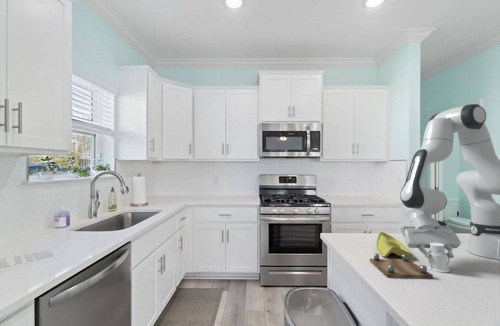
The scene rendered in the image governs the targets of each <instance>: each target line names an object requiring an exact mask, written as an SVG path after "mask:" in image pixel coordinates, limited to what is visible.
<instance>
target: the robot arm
mask: <svg viewBox="0 0 500 326" xmlns="http://www.w3.org/2000/svg"><path fill="white" fill-rule="evenodd" d="M486 120H487V112H486V110H485V109H484V107H482V106H481V105H480V104H478V103H473V104H471V103H468V104H465V105H462V106H461V105H460V106H457V107H452V108H449V109H447V110H444V111H441V112H436V113H434V115H433V114H432V115H431V116H430V117H429V119H428V122H427V124H426V127H425V129H424V134H423V139H422V144H421V147H420V148H419V149H418V150H417V151H415V153H414V154H413V157H412V159H411V161H410V166H409V169H408V172H407V175H406V179H405V182H404V184H403V186H402V188H401V190H400V193H399V197H400V201H401V205H402V208H403V209H402V210H403V212H404V213H405V216H406V217H407V219H409V224H410V226H403V227H401V228H400V231H401V234H402V235H403V239H404V244H406V246H407V247H408V248H409V249H418V250H419V251H420V252H421V253H422V254H423V255H424V257H425V258H427V259H428V258H431V257H432V255H431V253H430V252H429V251H428V250H427V249H430V243H442V244H444V248H445V251H447V252H446V253H447V259H448V258H449V259H453V258H454V257H455V255H454V253H453V250H454V249H458V247H460V245H461V243H462V242H461V240H460V238H459V237H458V235H457V233H456V232H455V231H454V230H453V229H452V228H450V224H449V223H448V222H446V221H442V220H439V219H435V218H433V216H432V215H436V214H438V213H440V212H441V211H443V210H444V209H446V206H447V204H448V199H447V196H446V194H445V193H444V192H443V191H440V190H438V189H434V188H430V187H429V188H427V187H424V186H422V182H423V179H424V176H425V175H424V174H425V171H426V169H427V167H428V166H429V165H431V164H433V163H438V162H442V161H444V160H446V159H448V158H449V157H451V154H452V152H453V150H454V149H453V148H454V140H455V139H454V138H455V137H454V135H455V134H454V133H457V137H458V141H459V146H460V149H461V154H462V158H463V161H465V162H466V163H467V164H469V165H471V166H472V167H473V168H474V169H469V170H465V171H461V172H460V173H458V174H457V176H456V179H455V182H456V185H457V187H458V189H460V190H461V191H463V193H464V194H465V196H466V198H467V200H468V203H469V207H470V221H469V230H470V238H469V243H468V247H467V252H468V253H470V254H473V255H475V256H479V257H482V258H487V259H488V258H489V259H493V260H497V261H500V204H499V203H498V202H496V200H494V197H493V195H495V196H496V195H498V196H500V159H499V156H497V153H496V151H495V148H494V145H493V142H492V138H491V134H490V132H489V130H488V128H487V126H486V123H485V122H486Z"/></svg>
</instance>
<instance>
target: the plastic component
mask: <svg viewBox="0 0 500 326" xmlns="http://www.w3.org/2000/svg"><path fill="white" fill-rule="evenodd" d="M375 246H376V250H377V252H378V254H379V256H381V257H382V258H386V257H389V255H390V254H392V253H393V254H395V255H397V256H399V257H400V258H402V254H407V255H408V260H410V257H411V255H412V252H411V251H410V250H409V249H408V248H407V247H406V246H405V245H404V244H403V243H402V242H401V241H400V240H399V239H396V237H393V236H392V235H390V234H388V233H386V232H383V231H379V232H378V236H377V238H376V241H375Z"/></svg>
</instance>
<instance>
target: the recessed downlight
mask: <svg viewBox="0 0 500 326" xmlns="http://www.w3.org/2000/svg"><path fill="white" fill-rule="evenodd" d="M428 252H430V253H431V255H432V257H431V258H427V263H426V265H427V266H426V267H427V269H428V270H430V271H433V272H437V273H450V271H451V269H450V268H449V265H450V261H451V260H450V258H448V257H447V253H448V252H446V249H445V248H444V244H442V243H430V248H429V251H428Z"/></svg>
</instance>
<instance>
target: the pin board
mask: <svg viewBox="0 0 500 326" xmlns="http://www.w3.org/2000/svg"><path fill="white" fill-rule="evenodd" d="M369 262H370V263H371V264H372V265H373V266H374V267H375V268H376V269H377V270H378V271H380V272H381V273H382V274H383V275H384V276H385V277H386V278H391V279H392V278H393V279H396V278H397V279H398V278H399V279H434V274H432V273H431V272H429V271H428V270H427V269H428V266H426V265H422V264H420V265H418V264H416V263H415V262H413V261H412V260H410V259H408V255H407V254H402V257H401V258H380V253H377V252H376V253H373V258H369Z"/></svg>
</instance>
